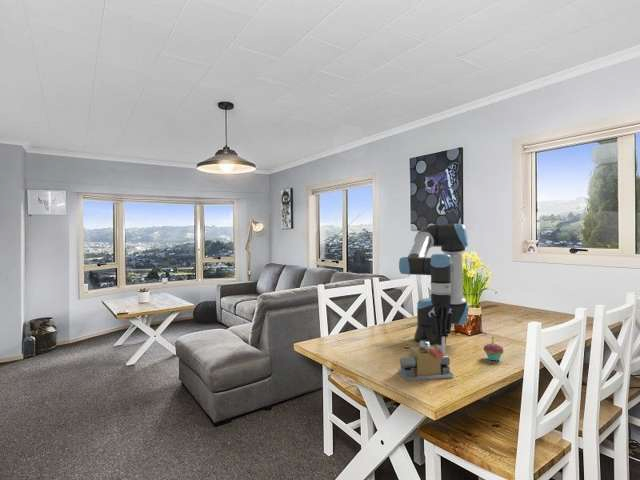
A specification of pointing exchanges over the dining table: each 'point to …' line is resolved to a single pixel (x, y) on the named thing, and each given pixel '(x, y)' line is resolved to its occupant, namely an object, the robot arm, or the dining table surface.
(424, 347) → the lever
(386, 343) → the dining table surface
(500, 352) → the cupcake
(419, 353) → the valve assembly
